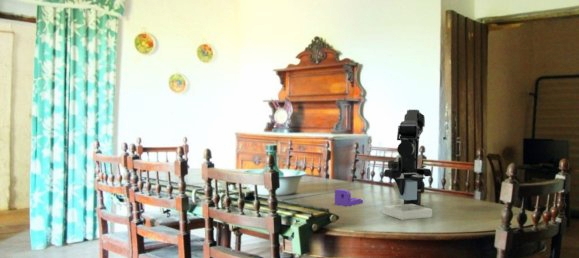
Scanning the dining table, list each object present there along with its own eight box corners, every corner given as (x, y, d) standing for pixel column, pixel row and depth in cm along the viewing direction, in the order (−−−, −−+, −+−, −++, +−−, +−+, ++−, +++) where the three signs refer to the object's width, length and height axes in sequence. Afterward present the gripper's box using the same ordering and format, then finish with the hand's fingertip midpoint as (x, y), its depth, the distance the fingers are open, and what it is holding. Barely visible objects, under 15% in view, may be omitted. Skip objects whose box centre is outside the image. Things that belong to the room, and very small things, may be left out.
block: (408, 197, 184) (409, 179, 184) (416, 199, 179) (417, 181, 179) (398, 198, 182) (398, 180, 182) (406, 200, 177) (406, 182, 177)
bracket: (347, 207, 198) (348, 191, 198) (334, 205, 202) (334, 189, 202) (362, 203, 207) (363, 188, 207) (350, 201, 211) (350, 186, 211)
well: (412, 211, 189) (412, 203, 189) (431, 217, 178) (432, 209, 178) (383, 213, 184) (383, 206, 184) (401, 219, 173) (401, 211, 172)
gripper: (414, 153, 191) (414, 190, 192) (376, 154, 184) (375, 193, 185) (432, 155, 181) (432, 194, 181) (392, 156, 174) (392, 197, 174)
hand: (407, 194), depth 181 cm, fingers closed on block, 5 cm apart
